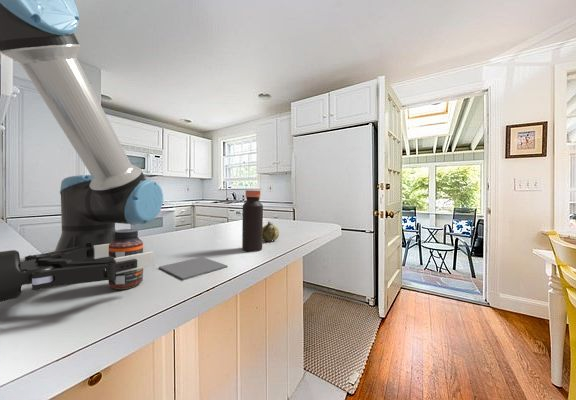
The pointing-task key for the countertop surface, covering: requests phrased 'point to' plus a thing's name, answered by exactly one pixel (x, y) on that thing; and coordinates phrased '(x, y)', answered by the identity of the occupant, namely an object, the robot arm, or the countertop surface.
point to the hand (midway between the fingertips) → (140, 252)
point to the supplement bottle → (126, 246)
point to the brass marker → (126, 288)
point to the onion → (270, 232)
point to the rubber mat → (192, 267)
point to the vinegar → (252, 222)
